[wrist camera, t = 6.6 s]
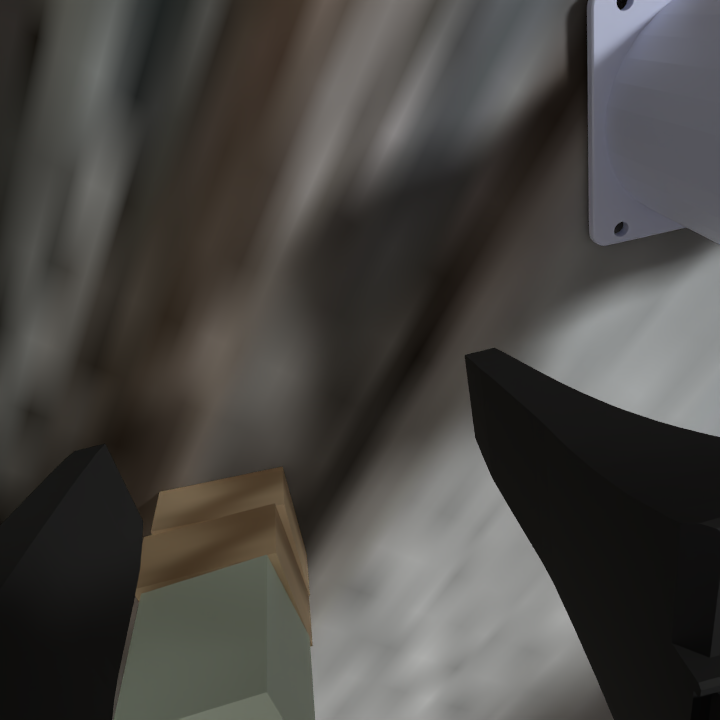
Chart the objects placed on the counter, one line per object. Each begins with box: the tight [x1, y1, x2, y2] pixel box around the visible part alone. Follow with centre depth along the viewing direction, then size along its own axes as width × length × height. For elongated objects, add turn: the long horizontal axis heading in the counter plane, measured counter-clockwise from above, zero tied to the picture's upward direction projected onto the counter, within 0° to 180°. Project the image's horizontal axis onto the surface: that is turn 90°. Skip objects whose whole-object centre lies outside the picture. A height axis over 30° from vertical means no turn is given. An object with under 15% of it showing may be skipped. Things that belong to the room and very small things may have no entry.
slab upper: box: [135, 503, 313, 646], centre depth 24 cm, size 5×5×2 cm
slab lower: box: [151, 466, 310, 595], centre depth 26 cm, size 5×5×2 cm
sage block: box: [114, 555, 315, 720], centre depth 21 cm, size 4×4×5 cm
